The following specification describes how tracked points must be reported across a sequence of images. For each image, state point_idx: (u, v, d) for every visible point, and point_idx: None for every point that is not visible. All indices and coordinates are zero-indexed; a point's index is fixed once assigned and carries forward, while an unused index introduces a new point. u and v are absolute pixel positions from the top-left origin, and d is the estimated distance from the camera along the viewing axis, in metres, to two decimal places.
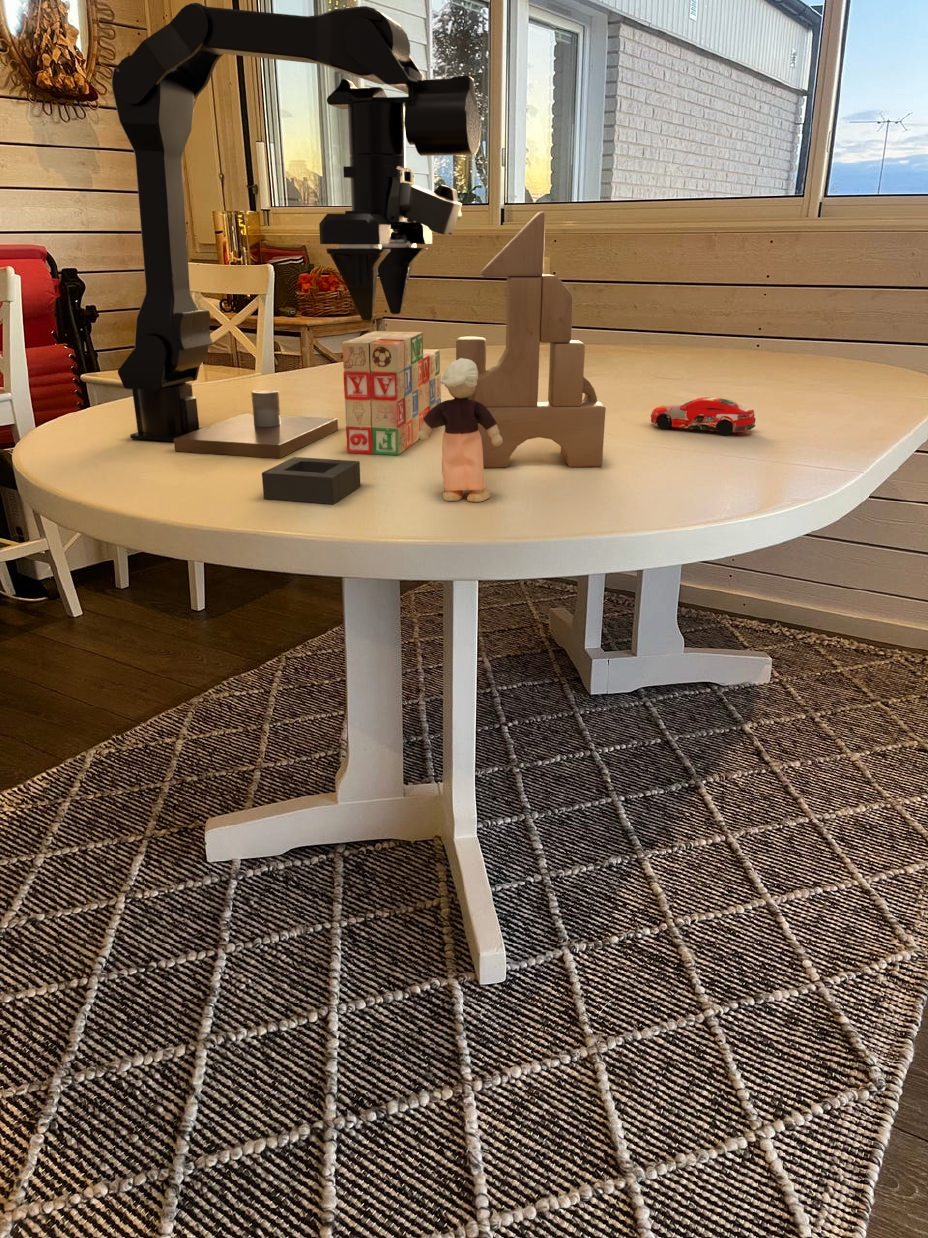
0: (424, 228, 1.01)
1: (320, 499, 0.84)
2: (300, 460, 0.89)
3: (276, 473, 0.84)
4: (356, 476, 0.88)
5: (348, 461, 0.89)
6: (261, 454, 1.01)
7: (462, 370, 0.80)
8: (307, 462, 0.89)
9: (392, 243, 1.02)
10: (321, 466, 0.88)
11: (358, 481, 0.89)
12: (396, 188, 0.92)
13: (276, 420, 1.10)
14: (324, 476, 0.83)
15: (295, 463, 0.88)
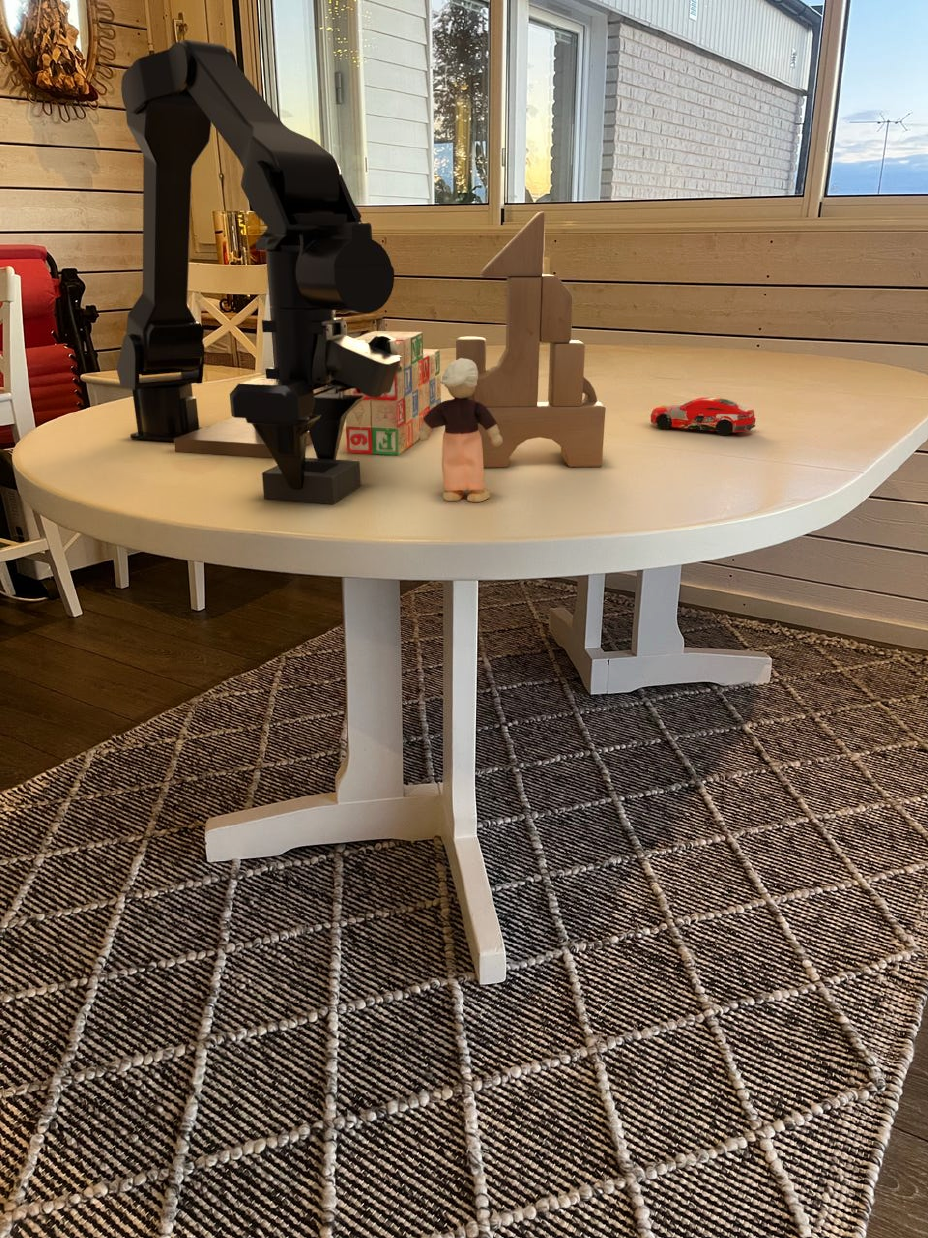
0: None
1: (320, 499, 0.84)
2: None
3: (276, 473, 0.84)
4: (356, 476, 0.88)
5: (348, 461, 0.89)
6: (261, 454, 1.01)
7: (462, 370, 0.80)
8: (307, 462, 0.89)
9: (322, 393, 0.88)
10: (321, 466, 0.89)
11: (358, 481, 0.89)
12: (322, 347, 0.79)
13: None
14: (324, 476, 0.83)
15: None
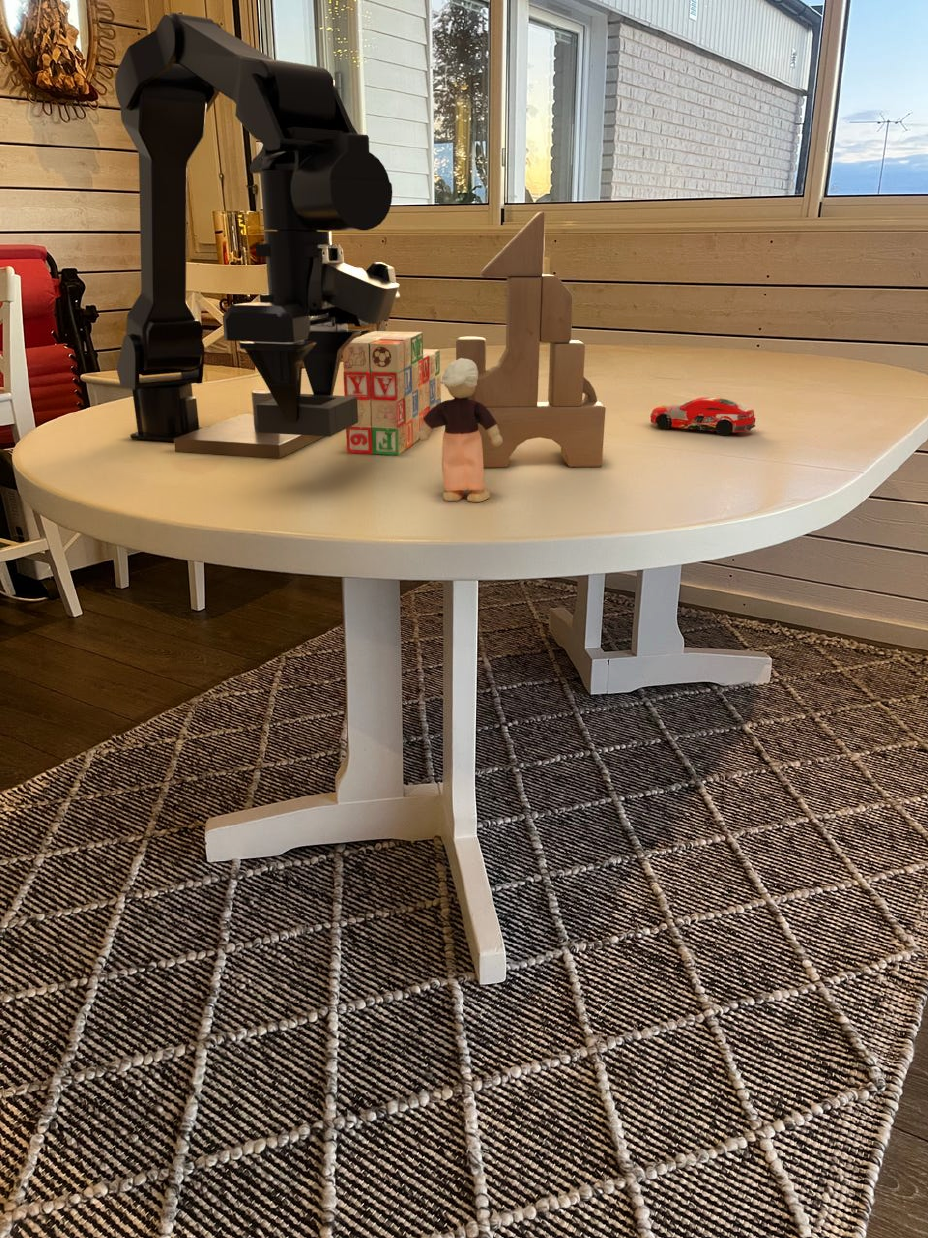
0: None
1: (316, 431, 0.81)
2: None
3: (271, 405, 0.82)
4: (353, 411, 0.86)
5: (345, 396, 0.86)
6: (261, 454, 1.01)
7: (462, 370, 0.80)
8: (303, 397, 0.86)
9: (318, 326, 0.86)
10: (317, 401, 0.86)
11: (355, 417, 0.87)
12: (318, 271, 0.77)
13: None
14: (320, 407, 0.81)
15: None
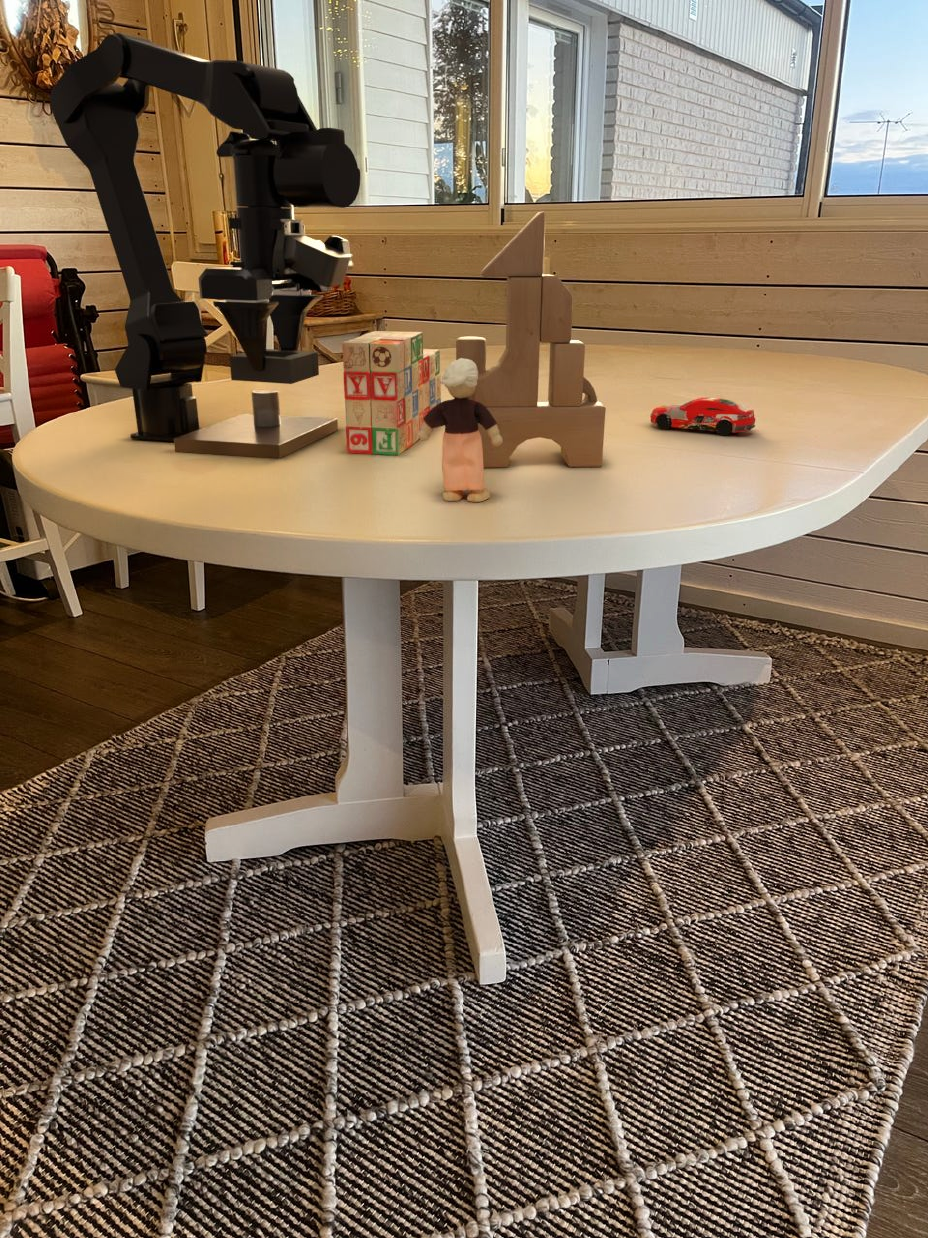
0: None
1: (280, 379, 0.95)
2: (266, 350, 1.01)
3: (242, 356, 0.96)
4: (314, 364, 1.00)
5: (307, 351, 1.00)
6: (261, 454, 1.01)
7: (462, 370, 0.80)
8: (271, 352, 1.00)
9: (285, 291, 1.00)
10: (283, 355, 1.00)
11: (316, 370, 1.01)
12: (281, 241, 0.91)
13: (276, 420, 1.10)
14: (283, 358, 0.95)
15: None
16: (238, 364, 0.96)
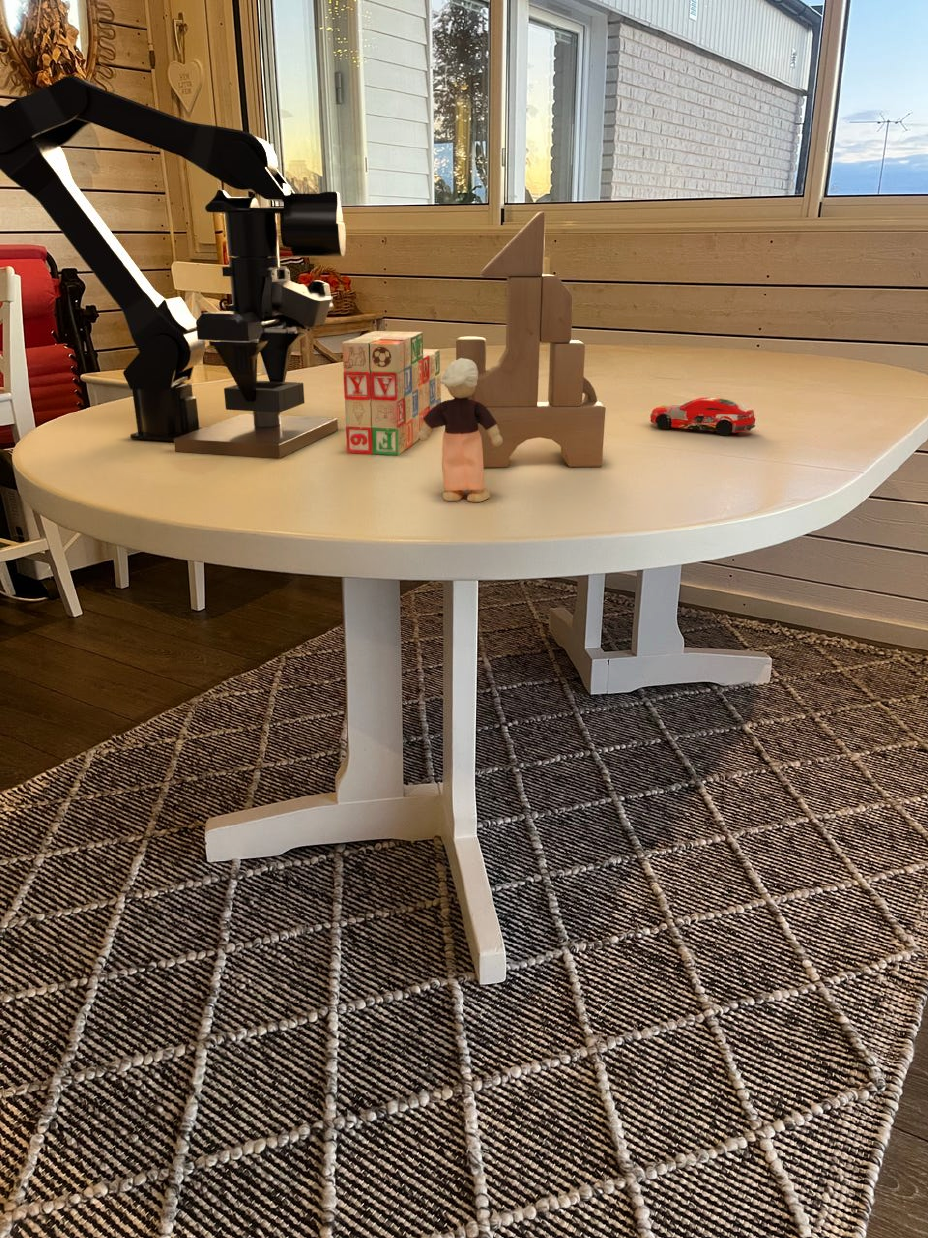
0: None
1: (269, 408, 1.07)
2: None
3: (235, 388, 1.07)
4: (300, 394, 1.11)
5: (294, 382, 1.12)
6: (261, 454, 1.01)
7: (462, 370, 0.80)
8: (261, 383, 1.12)
9: (273, 329, 1.11)
10: (272, 386, 1.11)
11: (302, 399, 1.12)
12: (268, 287, 1.02)
13: (276, 420, 1.10)
14: (272, 390, 1.06)
15: None
16: (232, 395, 1.07)
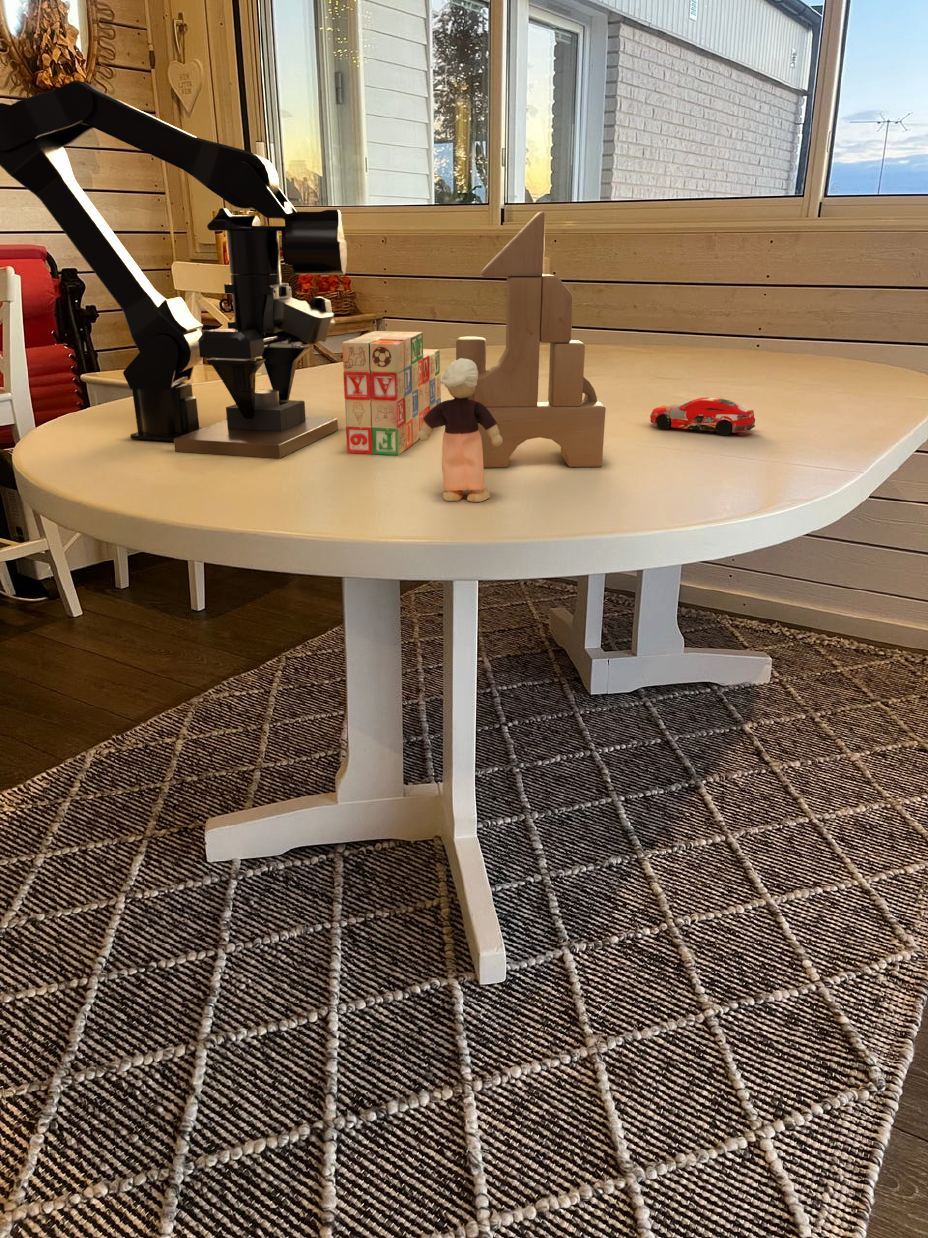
0: None
1: (271, 427, 1.07)
2: None
3: (237, 407, 1.08)
4: (301, 412, 1.12)
5: (295, 401, 1.12)
6: (261, 454, 1.01)
7: (462, 370, 0.80)
8: None
9: (278, 343, 1.13)
10: None
11: (303, 417, 1.13)
12: (270, 304, 1.03)
13: None
14: (274, 409, 1.07)
15: None
16: (233, 414, 1.08)
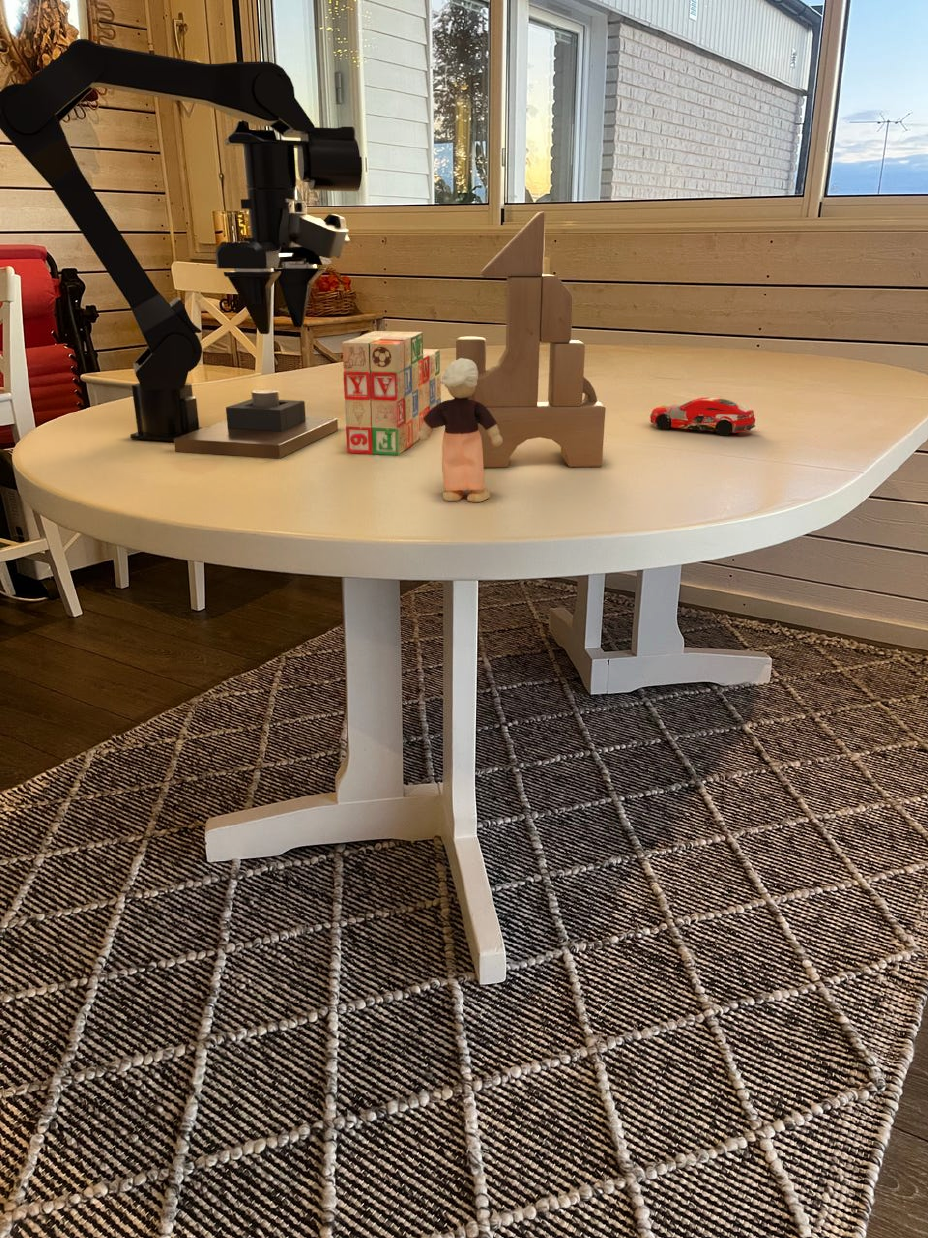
0: None
1: (271, 427, 1.07)
2: None
3: (237, 407, 1.08)
4: (301, 412, 1.12)
5: (295, 401, 1.12)
6: (261, 454, 1.01)
7: (462, 370, 0.80)
8: None
9: (293, 264, 1.14)
10: None
11: (303, 417, 1.13)
12: (286, 218, 1.04)
13: None
14: (274, 409, 1.07)
15: None
16: (233, 414, 1.08)
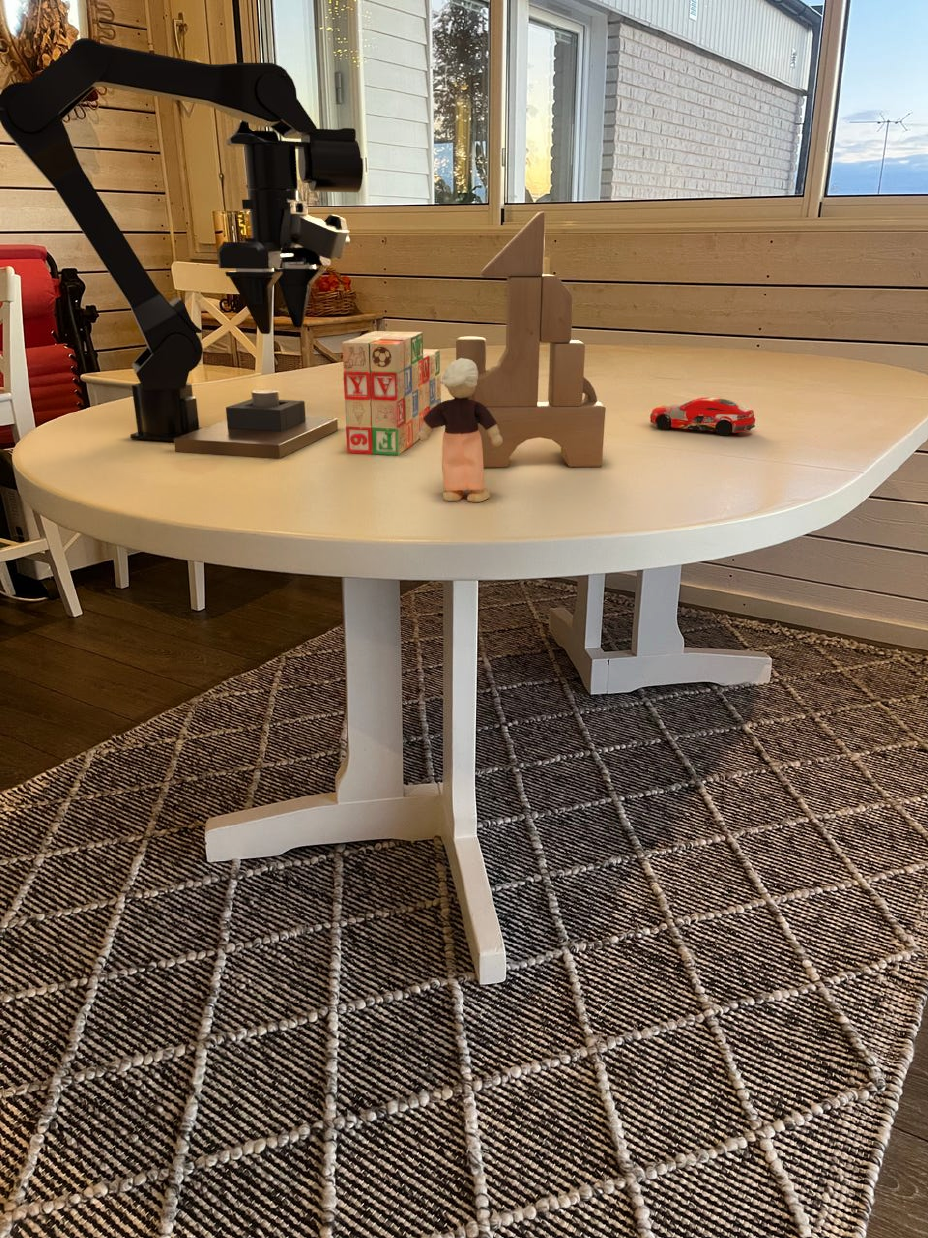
0: None
1: (271, 427, 1.07)
2: None
3: (237, 407, 1.08)
4: (301, 412, 1.12)
5: (295, 401, 1.12)
6: (261, 454, 1.01)
7: (462, 370, 0.80)
8: None
9: (293, 265, 1.15)
10: None
11: (303, 417, 1.13)
12: (287, 219, 1.05)
13: None
14: (274, 409, 1.07)
15: None
16: (233, 414, 1.08)
